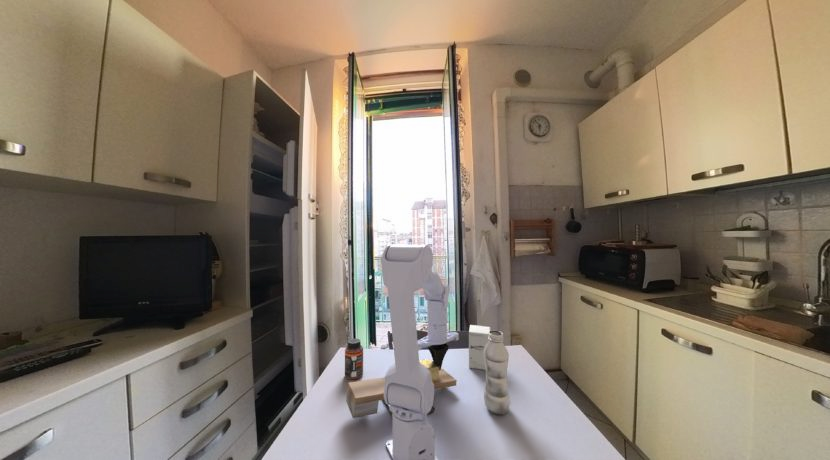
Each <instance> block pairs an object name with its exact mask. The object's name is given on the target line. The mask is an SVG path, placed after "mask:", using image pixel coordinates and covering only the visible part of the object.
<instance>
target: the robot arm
mask: <svg viewBox="0 0 830 460" xmlns="http://www.w3.org/2000/svg"><path fill="white" fill-rule="evenodd" d="M380 263H381V265H380V266H381V275H382V281H383V282H382V283H383V285H384V286H385V287H386V289H387V296H388V297H387V298H388V306H389V315H390V326H391V334H392V347H393V355H394V362H393V363H392V364H391V365H390V366H389V368H388V369H387V371H386V374H385V375H384V377H385V386H384V400H385V402H384V403H386V404H388V405H389V409H388V410H389V411H391V412H392V413H391V412H390V413H391V416H392V419H391V420H392V425H391V426H392V434H391V435H392V436H391V437H392V439H388V440H387V441H386V442H385V447H386V449H387V451H388V453H389V455H390V457H391V459H392V460H439V458H438V456H437V455H436V442H435V441H436V437H435V436H436V435H435V430H434V429H433V428H434V427H432V425H431V423H430V421H429V420H428V419H429V418H428V415H427V414H428V413H429V412H430V410H431V408H432V406H433V405H434V400H435V399H434V398H435V390H434V384H433V382H432V378H431V372H430V371H429V370H428V369H427V368H426V367H425V366H424V365H423V364H421V363H420V361H419V360H420V356H419V354H420V353H419V352H420V351H421V350H422V349H425V348H427V349H428V351H429V353H430V355H431V360H432V361H433V362H434V363H436V364H437V365H438V366H439V370H441V369H442V367H443V361H444V359H445V356H446V354H447V352H448V351H449V348H450V346H449V345H448V344H447V343H449V342H451V341H452V342H453V341H456V342H457V341H459V339H460V335H459V333H458V332H456V331H452V332H449V331H448V319H447V318H448V315H447V314H448V312H447V311H448V309H447V308H448V306H449V298H450V297H449V296H450V286H449V284H447V283H446V282H443V281H442V278H441V277H440V275H439V273H438V272H437V271H436V270H435V269H432V268H433V263H434V254H433V250H432V248H431V246H430V245H429V244H422V245H421V244H393V243H390V244H389V243H388V245H386V246H385V248H384V250H383V252H382V255H381V257H380ZM420 289H422V290H423V295H424V301H427V335H426V336H424V337H423V338H420V339H418V331H417V320H416V309H415V307H416V306H415V297H414V294H415V292H416V291H419V290H420ZM386 404H385V405H386Z"/></svg>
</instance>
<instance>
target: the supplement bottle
mask: <svg viewBox="0 0 830 460" xmlns="http://www.w3.org/2000/svg"><path fill="white" fill-rule="evenodd" d="M363 374H364V346H362V345H361V339H360V338H351V339H349V340H348V341H347V347H345V349H344V377H345V378H346V379H347V380H351V381H352V380H358V379H359V378H361V377H362V376H363Z"/></svg>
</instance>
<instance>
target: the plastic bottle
mask: <svg viewBox="0 0 830 460" xmlns="http://www.w3.org/2000/svg"><path fill="white" fill-rule="evenodd" d="M488 339H489V342H488V343H487V344H486V346H485V347H484V359H485V366H486V370H485V387H484V392H483V400H484V405H485V406H486V408H487V409H488V411H490V413H493V414H496V415H504V414H506V413H507V412H508V411H509V409H510V405H511V400H510V394H509V388H508V387H509V386H508V366H509V358H510V357H509V356H510V354H509V351H508V349H507V347H506V346H505V344H504V343H503V342H504V333H503V332H502V331H499V330H496V329H495V330H494V329H490V331H489V337H488Z"/></svg>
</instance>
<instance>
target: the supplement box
mask: <svg viewBox="0 0 830 460" xmlns="http://www.w3.org/2000/svg"><path fill="white" fill-rule="evenodd" d="M489 331H491V327H490V326H486V325H485V326H484V325H476V324H470V325H469V329H468V368H469V369H478V370H482V371H486V366H485V359H484V347H485V346H486V344H487V343H488V342H489V339H488V337H489Z"/></svg>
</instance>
